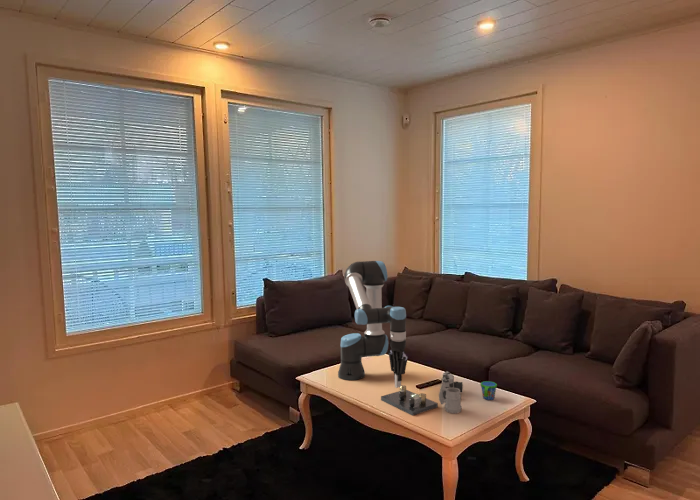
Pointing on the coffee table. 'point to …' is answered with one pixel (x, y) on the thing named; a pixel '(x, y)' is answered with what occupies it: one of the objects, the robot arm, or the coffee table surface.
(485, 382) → the snack cup
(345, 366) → the robot arm
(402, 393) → the knob left
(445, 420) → the coffee table surface
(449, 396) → the mug
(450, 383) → the camera
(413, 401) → the knob right
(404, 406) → the control panel
